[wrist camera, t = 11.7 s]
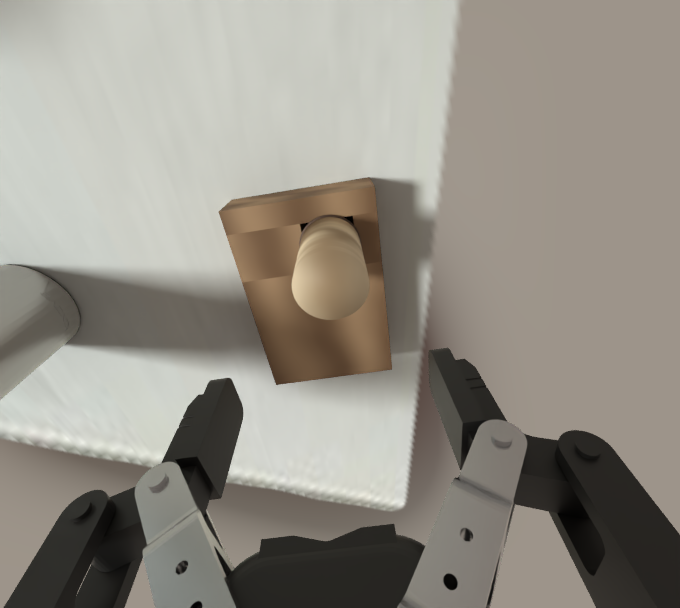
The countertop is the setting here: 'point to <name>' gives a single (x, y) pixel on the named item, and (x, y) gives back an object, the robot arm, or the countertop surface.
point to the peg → (330, 269)
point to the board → (277, 272)
